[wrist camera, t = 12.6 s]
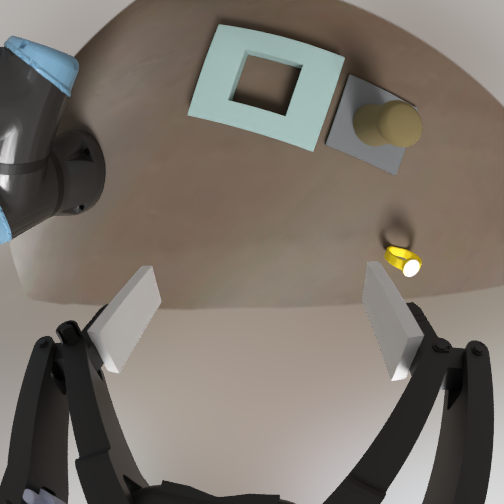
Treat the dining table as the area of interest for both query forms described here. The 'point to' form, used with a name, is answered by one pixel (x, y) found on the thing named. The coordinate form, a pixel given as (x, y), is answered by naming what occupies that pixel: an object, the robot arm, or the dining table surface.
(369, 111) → the cork
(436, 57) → the dining table surface
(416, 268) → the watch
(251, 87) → the dining table surface
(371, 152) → the rubber mat
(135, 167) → the dining table surface
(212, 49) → the socket board
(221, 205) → the dining table surface
